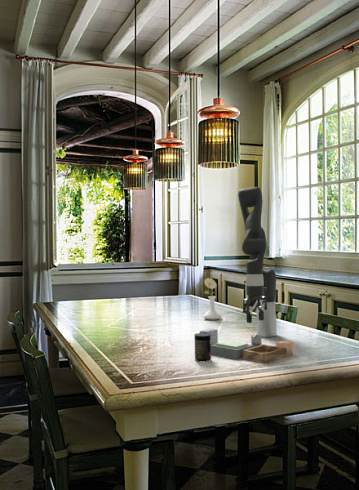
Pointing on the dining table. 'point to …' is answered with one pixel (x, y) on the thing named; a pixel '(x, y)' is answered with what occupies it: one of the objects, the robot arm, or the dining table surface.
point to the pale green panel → (231, 344)
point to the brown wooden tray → (264, 353)
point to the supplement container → (202, 346)
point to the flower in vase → (211, 301)
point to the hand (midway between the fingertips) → (255, 321)
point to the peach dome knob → (286, 346)
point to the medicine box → (212, 335)
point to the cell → (256, 340)
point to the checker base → (229, 351)
